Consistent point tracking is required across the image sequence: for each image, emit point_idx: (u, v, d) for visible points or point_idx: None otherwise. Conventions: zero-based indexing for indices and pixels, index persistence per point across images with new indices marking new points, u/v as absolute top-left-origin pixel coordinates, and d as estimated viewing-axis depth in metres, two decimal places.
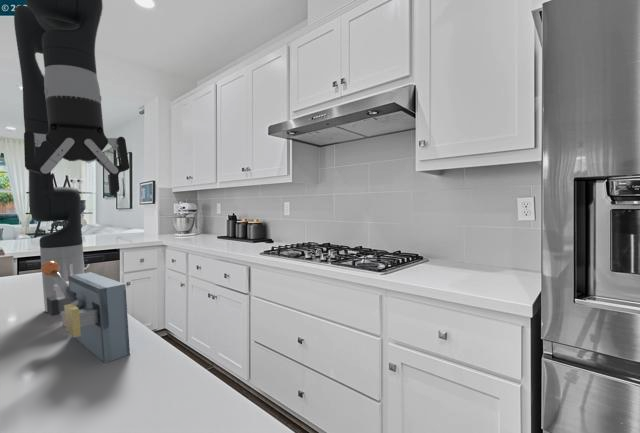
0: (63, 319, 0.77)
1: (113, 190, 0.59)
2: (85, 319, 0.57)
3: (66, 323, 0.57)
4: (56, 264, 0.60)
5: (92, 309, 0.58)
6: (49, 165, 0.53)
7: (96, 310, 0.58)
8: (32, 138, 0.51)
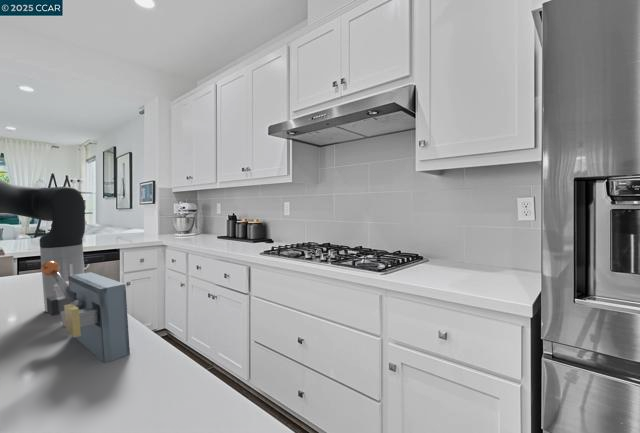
0: (63, 319, 0.77)
1: None
2: (85, 319, 0.57)
3: (66, 323, 0.57)
4: (56, 264, 0.60)
5: (92, 309, 0.58)
6: None
7: (96, 310, 0.58)
8: None
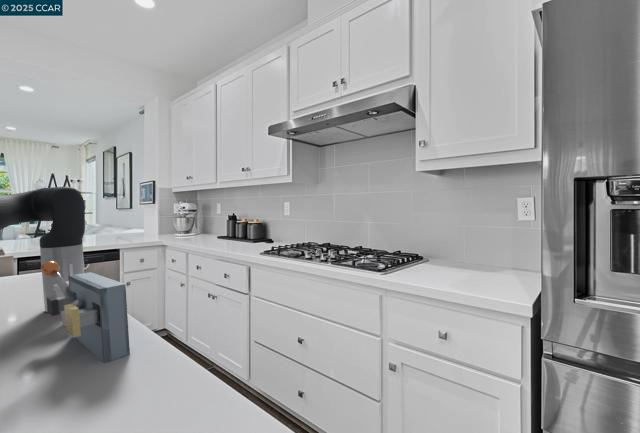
0: (63, 319, 0.77)
1: None
2: (85, 319, 0.57)
3: (66, 323, 0.57)
4: (56, 264, 0.60)
5: (92, 309, 0.58)
6: None
7: (96, 310, 0.58)
8: None
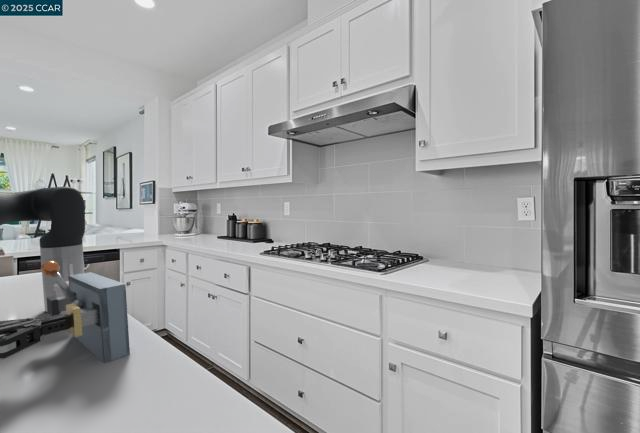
0: None
1: (65, 329, 0.55)
2: (87, 319, 0.57)
3: None
4: (56, 264, 0.60)
5: (93, 309, 0.58)
6: None
7: (97, 310, 0.58)
8: None
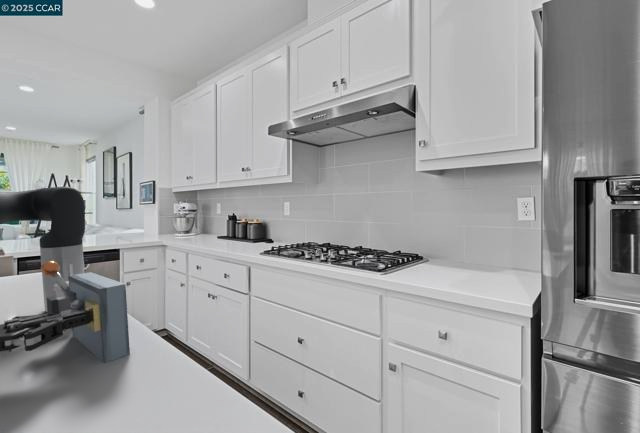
0: None
1: (85, 324, 0.57)
2: None
3: None
4: (56, 264, 0.60)
5: None
6: None
7: None
8: None
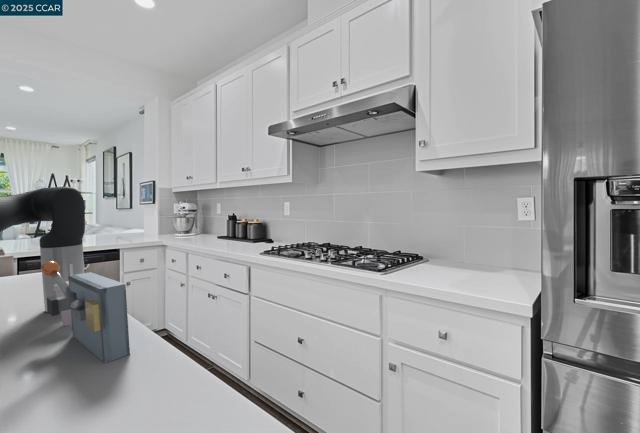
0: (63, 319, 0.77)
1: None
2: None
3: (87, 318, 0.59)
4: (56, 264, 0.60)
5: None
6: None
7: None
8: None
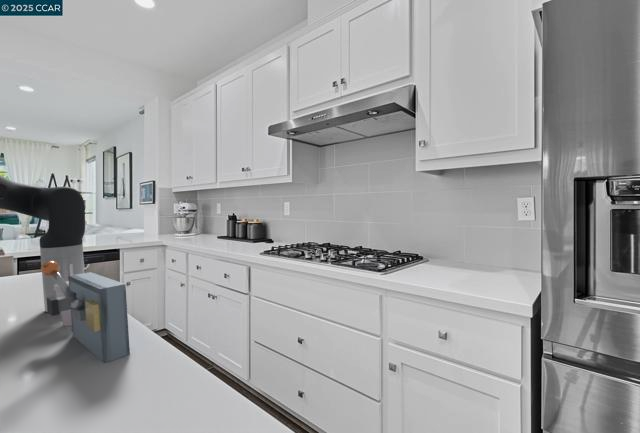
0: (63, 319, 0.77)
1: None
2: None
3: (87, 318, 0.59)
4: (56, 264, 0.60)
5: None
6: None
7: None
8: None
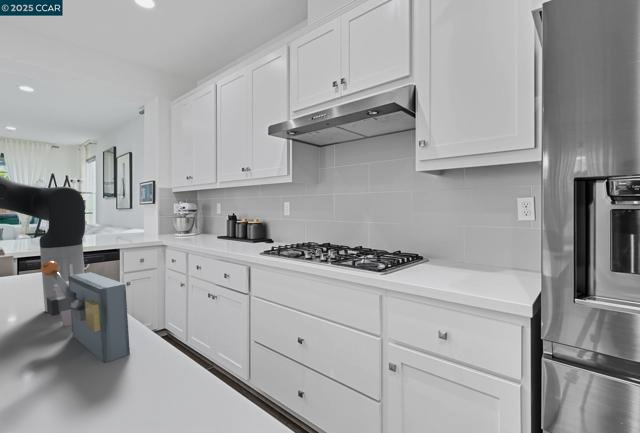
0: (63, 319, 0.77)
1: None
2: None
3: (87, 318, 0.59)
4: (56, 264, 0.60)
5: None
6: None
7: None
8: None
